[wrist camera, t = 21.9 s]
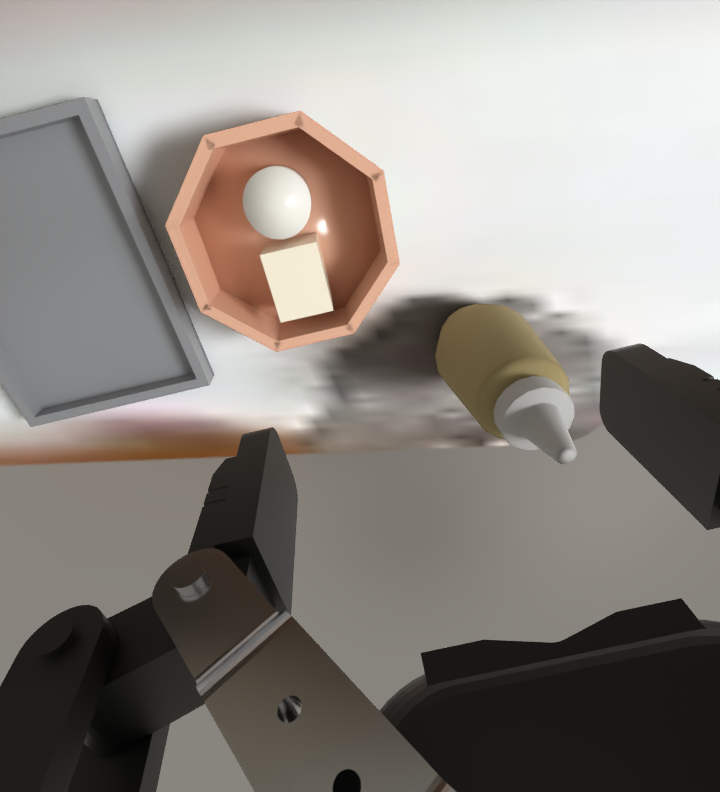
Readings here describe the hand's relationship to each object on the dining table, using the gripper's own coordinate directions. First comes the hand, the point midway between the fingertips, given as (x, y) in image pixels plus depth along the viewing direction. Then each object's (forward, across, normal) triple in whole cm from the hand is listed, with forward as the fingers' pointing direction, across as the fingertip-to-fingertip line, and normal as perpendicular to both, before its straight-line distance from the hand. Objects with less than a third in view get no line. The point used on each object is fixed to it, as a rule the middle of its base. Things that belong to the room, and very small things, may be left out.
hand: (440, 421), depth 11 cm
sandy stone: (+27, +5, +2) cm, 28 cm away
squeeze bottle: (+28, -8, +11) cm, 31 cm away
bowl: (+28, +5, -1) cm, 29 cm away
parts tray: (+28, +23, -2) cm, 36 cm away
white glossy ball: (+27, +5, -4) cm, 28 cm away
